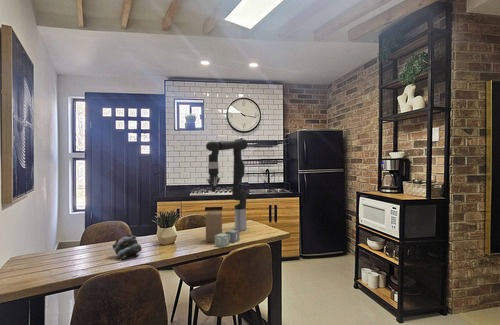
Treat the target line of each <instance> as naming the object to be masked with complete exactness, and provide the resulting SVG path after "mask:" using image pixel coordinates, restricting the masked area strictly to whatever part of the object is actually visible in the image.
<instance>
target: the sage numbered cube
mask: <svg viewBox="0 0 500 325" xmlns="http://www.w3.org/2000/svg"><path fill="white" fill-rule="evenodd" d="M214 246H215V247H220V248H224V247H227V246H230V242H229V234H226V233H223V232H222V233H220V234H217V235H215V242H214Z"/></svg>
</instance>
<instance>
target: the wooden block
mask: <svg viewBox="0 0 500 325" xmlns="http://www.w3.org/2000/svg"><path fill="white" fill-rule="evenodd" d="M222 216H223V214H222V212H221V211H209V212H207V213H206V214H205V241H206V243H215V235H217V234H220V233H223V217H222Z"/></svg>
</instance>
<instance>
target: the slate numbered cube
mask: <svg viewBox="0 0 500 325" xmlns="http://www.w3.org/2000/svg"><path fill="white" fill-rule="evenodd" d="M225 234H229V243H233V244H235V243H236V242H240V231H237V230H235V229H229V230H227V231H225Z"/></svg>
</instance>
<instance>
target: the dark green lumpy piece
mask: <svg viewBox="0 0 500 325" xmlns="http://www.w3.org/2000/svg"><path fill="white" fill-rule="evenodd" d="M112 248H113V251H114V253H115V254H116V258H117V259H118V260H119V259H122V260H124V259H126V258H127V257H130V256H133V255H136V254H138V253H140V252H141V251H142V250H143V249H142V247H141V245H140V244H139V243H138V240H137V237H136V236H135V235H132V236H131V234H127V235H126V236H123V237H121V238H120V239H116V240H115V243H113V244H112Z"/></svg>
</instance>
